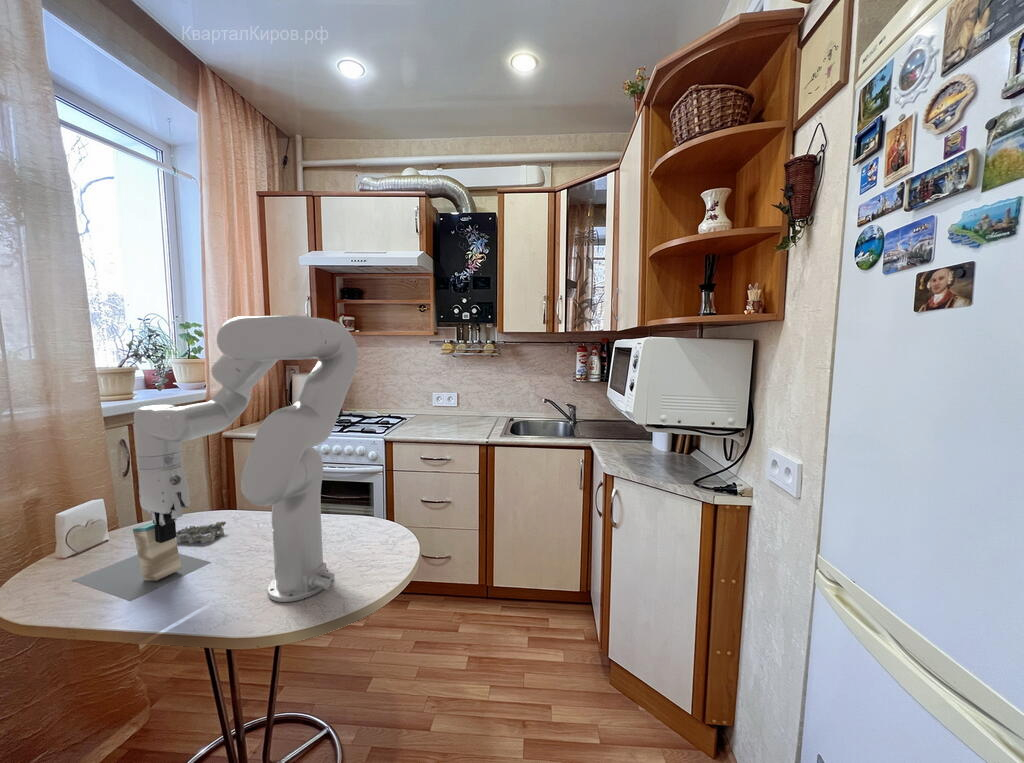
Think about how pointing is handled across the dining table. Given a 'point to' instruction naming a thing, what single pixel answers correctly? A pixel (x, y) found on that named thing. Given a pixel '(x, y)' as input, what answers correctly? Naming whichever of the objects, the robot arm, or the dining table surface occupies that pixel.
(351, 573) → the dining table surface
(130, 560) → the rubber mat
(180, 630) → the dining table surface
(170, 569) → the birch block
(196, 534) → the grey jagged stone ring
